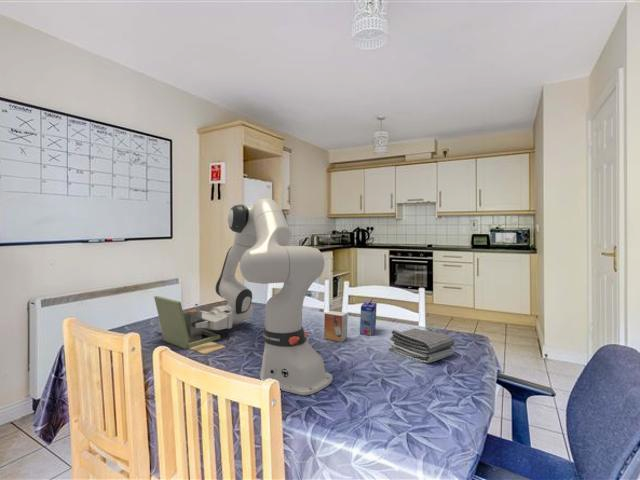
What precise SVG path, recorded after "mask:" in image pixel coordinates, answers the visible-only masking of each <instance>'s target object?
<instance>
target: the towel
mask: <svg viewBox="0 0 640 480" xmlns="http://www.w3.org/2000/svg"><path fill="white" fill-rule="evenodd" d="M389 339H390V341H392V342H393V343H391V345H390V346H389V347H388V351H389V352H390V353H393V352H394V354H396V353H397V355H399V356H402V357H404V356H405V358H407V357H408V359H410V358H411V360H413V359H414V360H413V361H416V360H417V362H420V363H422V364H429V363H433V362H436V361H439V360H441V359H445V358H448V357H451V356H453V355H454V353H455V352H454V350H453V349H454V348H452V346H454V345H455V341H454V339H453V338H452V337H451V336H449V335H448V334H446V333H442V332H438V331H437V332H436V331H427V330H423V329H419V328H412V329H408V330H404V331H400V330H396V329H393V330H392V331H391V336H390V338H389Z"/></svg>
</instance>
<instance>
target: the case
mask: <svg viewBox="0 0 640 480" xmlns="http://www.w3.org/2000/svg"><path fill="white" fill-rule="evenodd" d="M153 298H154V302H155V306H156V310H157V314H158V321H159V320H160V324H161V328H162V334H161V340H162V341H164V342H167V343H169V344H172V345H175V346H177V347H180V348H182V349H184V350H188V349H190V348H192V347H195V346H198V345H201V344H205V343H208V342H214V341H218V340H221V334H218V333H215V332H213V331H209V330H206V329H203V328H202V335H204V336H207V337H205V338H202V340H198V341H195V342H192V343H190V342H188V334H187V329H186V324H185V320H184V315H183V313H184V311H183V308H182V307H183V305H182V303H181V301H178V300H176V299H172V298H167V297H164V296H163V297H162V296H158V295H155V296H153Z"/></svg>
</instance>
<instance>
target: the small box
mask: <svg viewBox="0 0 640 480" xmlns="http://www.w3.org/2000/svg"><path fill="white" fill-rule="evenodd" d="M348 316H349V313H348V312H341V311H333V310H329V311H327V312H324V324H323V325H324V326H323V330H324V331H323V339H324V340H329V341H334V342H338V343H343V342H344V341H346V340H347V339H348V318H349V317H348Z"/></svg>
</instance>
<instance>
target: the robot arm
mask: <svg viewBox="0 0 640 480" xmlns="http://www.w3.org/2000/svg"><path fill="white" fill-rule="evenodd" d="M227 223H228V227H229V229H230V230H231V231H232V232H234V233H235V235H234V241H233V245H232V246H231V247H230V248H229V249H228V250H227V252H226V256H225V258H224V262H223V265H222V268H221V273H220V275H219V277H218V280H217V281H216V284H215V293H216V294H217V295H218V296H220V297H221V298H222V299H224V300H225V301H226V302H227V303H226V304H224V305H219V306H215V307H211V309H210V311H206V310H205V311H204V310H199V311H200V312H202V322H201V323H195V324H194V327H195V328H202V329H203V328H207V329H210V330H213V331H220V330H224V329H232V328H233V325H234V324H238V323H241V322H244V321H246V320H248V319H250V317H252V315H253V311H254V306H253V305H252V301H253V292H252V290H250V289H249V288H248V287H247V286H245V285H244V284H242V283H241V282H240V281H239V280H237V278H236V276H235V275H236V272H237V269H238V266H239V269H240V273H241V275H242V276H243V278H244V280H245V281H247V283H248V282H249V283H253V284H263V285H266V284H281V283H282V284H283V286H282V287H281V289H280V290H279V291H278V292H277V293H275V294H274V295H272V296H271V297H269V299H268V300H267V301H266V304H265V308H264V309H265V310H264V315H265V316H264V322H265V324H264V328H263V341H264V347H263V354H262V361H261V362H262V363H261V368H260V371H259V380H260V379H261V380H264V379H267V378H272V379H276V380H278V381H279V382H280V386H281V390H280V391H282V392H283V391H284V392H287V393H291V394H295V395H300V396H308V395H309V396H310V395H312V394H315V393H317V392H320V391H322V390H323V389H325V388H326V387H328V386H329V385H330V384H331V383H332V382H333V374H332V373H329V372H328V371H326V369H325V362H324V358H323V357H322V356H321V355H320V354H319V353H318V352H317V351H316V350H315V349H314V348H313V347H312V345H311V344H310V343H309V342H308V341H307V337H309V336H310V335H309V334H310V332H305V330H304V328H303V324H302V323H303V308H304V307H303V306H304V302H305V301H304V300H305V298H306V295H307V293H308V290H309V289H310V287H311V286H312V285H313V283H314V282H315V281H317V279H319V278H320V277H321V276H322V273H323V272H324V269H325V265H326V264H325V258H324V255H323V253H322V252H321V251H320V249H318V248H316V247H311V246H306V245H288V244H289V243H290V240H291V236H292V235H291V234H292V232H291V230H290V226H289V224H288V222H287V215H286V213H285V212H284V210H283V209H281V207H280V206H279V204H278V203H277V202H276V201H275V200H274V199H272V198H268V197H267V198H261V199H259V200H257V201H255V203H254V204H253V205H251V204H250V205H249V204H247V205H246V204H245V205H244V204H237V205H233V206H232V207H231V208H230V210H229V212H228V216H227Z"/></svg>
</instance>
